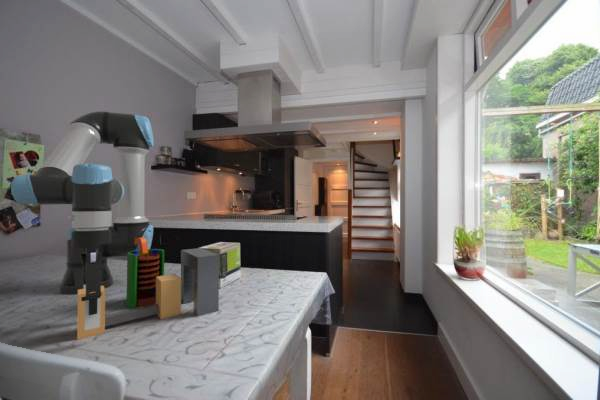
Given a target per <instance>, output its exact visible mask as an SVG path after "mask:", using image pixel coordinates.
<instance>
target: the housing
mask: <svg viewBox="0 0 600 400" xmlns="http://www.w3.org/2000/svg"><path fill="white" fill-rule="evenodd" d="M180 278H181V304H188V303H189V304H190V303H192V302H193V314H194V315H195V316H196V317H200V316H201V317H202V316H204V315H208V314H212V313H215V312H219V309H220V308H219V306H220V304H219V299H220V297H219V295H220V288H219V255H218V254H216V253H213V252H210V251H207V250H204V249H201V248H200V247H197V248H188V249H181V250H180Z"/></svg>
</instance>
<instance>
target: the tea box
mask: <svg viewBox="0 0 600 400" xmlns="http://www.w3.org/2000/svg"><path fill="white" fill-rule="evenodd" d="M199 248H201V249H204V250H207V251H210V252H213V253H216V254H218V255H219V289H222V288H224V287H225V286H228V285H229V284H231V283H233V282H235V281H237V280H238V279H241V277H242V271H241V269H242V268H241V243H240V242H232V241H231V242H225V241H224V242H223V241H219V242H214V243H211V244H208V245H203V246H201V247H200V246H199Z"/></svg>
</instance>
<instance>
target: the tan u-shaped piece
mask: <svg viewBox="0 0 600 400" xmlns="http://www.w3.org/2000/svg"><path fill="white" fill-rule="evenodd" d="M90 293H94V292H90ZM101 293H102V295H101V304H100V327H98V328H94V329H89V330H84V328H85V301H81V297H85V296H86V288H85V289H79V290H78V293H77V313H76V314H77V318H76V319H77V323H76V325H77V326H76V327H77V329H76V332H77V333H76V336H77V341H78V340H81V339H86V338H89V337H93V336H97V335H101V334H105V332H106V330H105V329H106V327H107V326H111V325H115V324H120V323H123V322H128V321H132V320H135V319H136V320H137V319H140V318H145V317H148V316H149V317H150V316H152V315H153V316H154V315H157V316H158V317H159V319H160V320H163V319H167V318H171V317H174V316H175V317H177V316H178V315H179V316H180V315H182V312H181V311H182V305H181V304H182V302H181V276H179V275H178V274H176V273H171V274H170V273H169V274H164V276H157V277H156V304H153V305H149V306H144V307H136V308H129V309H126V310H121V311H117V312H111V313H108V314H106V288H104V286H101Z"/></svg>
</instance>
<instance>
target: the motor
mask: <svg viewBox="0 0 600 400" xmlns="http://www.w3.org/2000/svg"><path fill="white" fill-rule="evenodd" d="M137 244H138V245H139V247H140V250H136V251H131V252H128V253H127V256H126V257H127V260H126V263H127V264H126V294H125V295H126V299H125V300H126V301H125V302H126V303H125V306H126V307H127V308H129V309H135V308H140V307H144V306H149V305H153V304H156V277H157V276H164V275H165V250H164V249H160V248H150V249H148V246H147V240H146V238H145V237H140V238H135V245H137Z"/></svg>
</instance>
